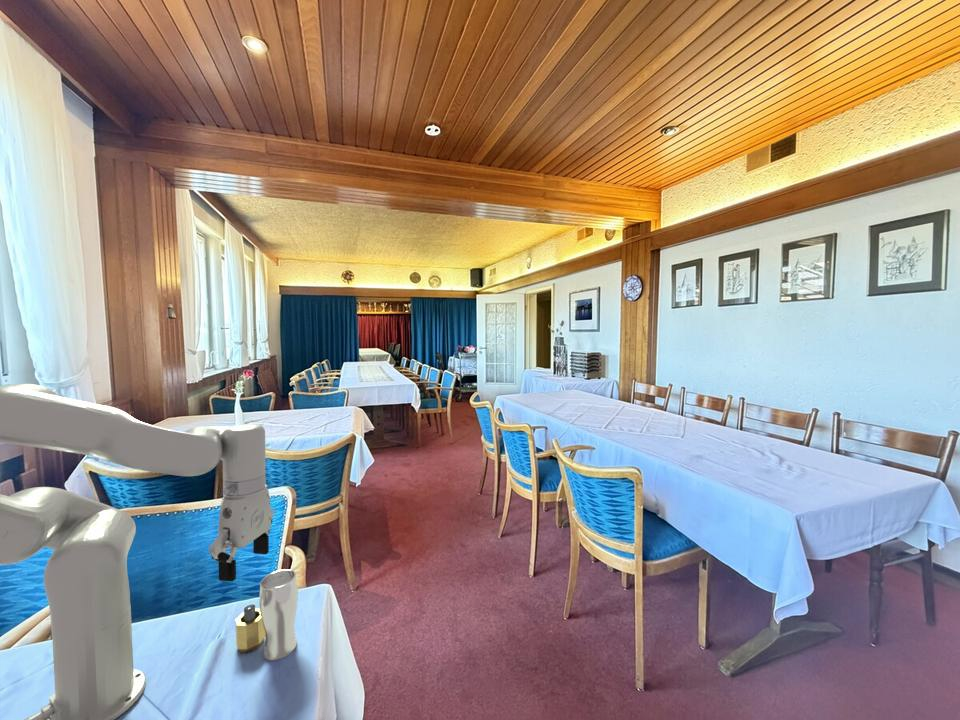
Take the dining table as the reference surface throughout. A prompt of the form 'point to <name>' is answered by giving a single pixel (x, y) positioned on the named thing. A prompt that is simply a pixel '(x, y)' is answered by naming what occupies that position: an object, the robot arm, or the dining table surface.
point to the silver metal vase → (279, 613)
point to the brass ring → (249, 631)
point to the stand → (248, 617)
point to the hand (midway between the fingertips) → (245, 565)
